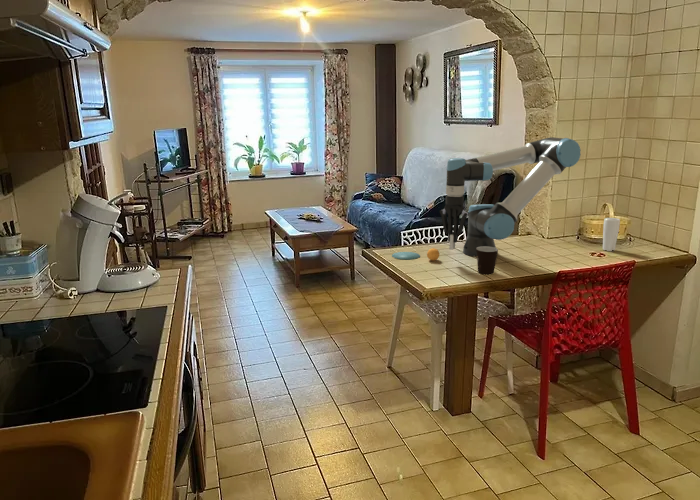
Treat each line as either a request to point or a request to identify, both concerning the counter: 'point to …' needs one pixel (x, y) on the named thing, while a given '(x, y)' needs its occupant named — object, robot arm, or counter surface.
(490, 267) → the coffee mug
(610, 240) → the white tall block
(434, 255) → the ball
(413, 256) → the disc
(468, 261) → the counter surface
